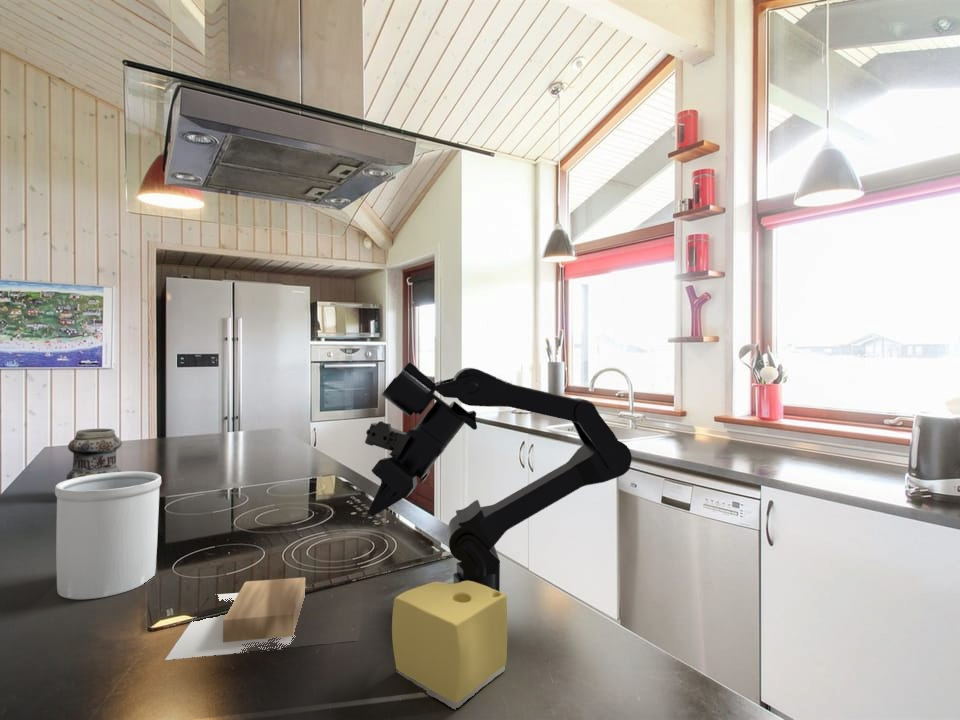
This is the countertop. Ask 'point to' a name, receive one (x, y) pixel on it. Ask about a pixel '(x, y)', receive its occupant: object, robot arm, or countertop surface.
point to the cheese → (450, 636)
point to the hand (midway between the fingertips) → (370, 514)
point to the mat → (213, 638)
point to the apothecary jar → (94, 452)
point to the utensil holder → (106, 533)
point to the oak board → (265, 610)
